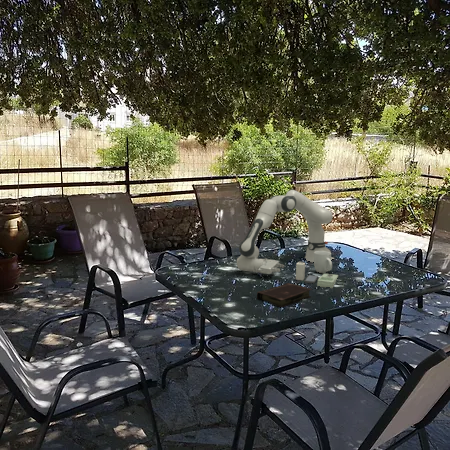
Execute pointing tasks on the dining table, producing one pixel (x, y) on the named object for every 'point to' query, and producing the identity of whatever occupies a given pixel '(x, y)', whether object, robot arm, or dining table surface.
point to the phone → (311, 279)
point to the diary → (284, 294)
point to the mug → (322, 261)
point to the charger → (300, 271)
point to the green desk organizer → (327, 280)
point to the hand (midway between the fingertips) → (282, 268)
